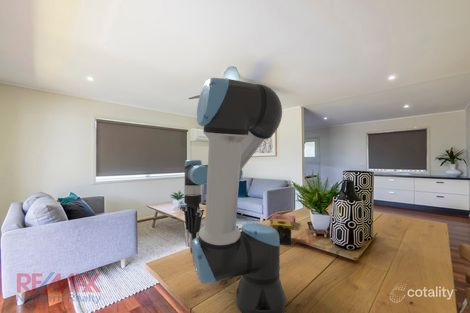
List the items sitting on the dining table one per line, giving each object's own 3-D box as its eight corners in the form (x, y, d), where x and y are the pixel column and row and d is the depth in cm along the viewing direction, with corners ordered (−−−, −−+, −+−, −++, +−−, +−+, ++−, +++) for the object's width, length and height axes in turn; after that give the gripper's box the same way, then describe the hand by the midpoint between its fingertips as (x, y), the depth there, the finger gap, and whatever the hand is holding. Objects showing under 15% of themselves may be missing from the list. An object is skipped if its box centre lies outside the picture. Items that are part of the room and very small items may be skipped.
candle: (272, 236, 117) (272, 218, 117) (290, 237, 115) (290, 219, 115) (271, 243, 107) (271, 224, 107) (291, 245, 105) (291, 225, 105)
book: (295, 223, 141) (295, 215, 141) (292, 230, 127) (292, 222, 127) (274, 220, 147) (274, 213, 147) (269, 227, 133) (269, 219, 133)
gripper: (208, 195, 90) (207, 249, 90) (192, 191, 99) (191, 240, 99) (193, 197, 85) (193, 254, 84) (178, 193, 94) (177, 244, 94)
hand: (192, 246), depth 92 cm, fingers closed
